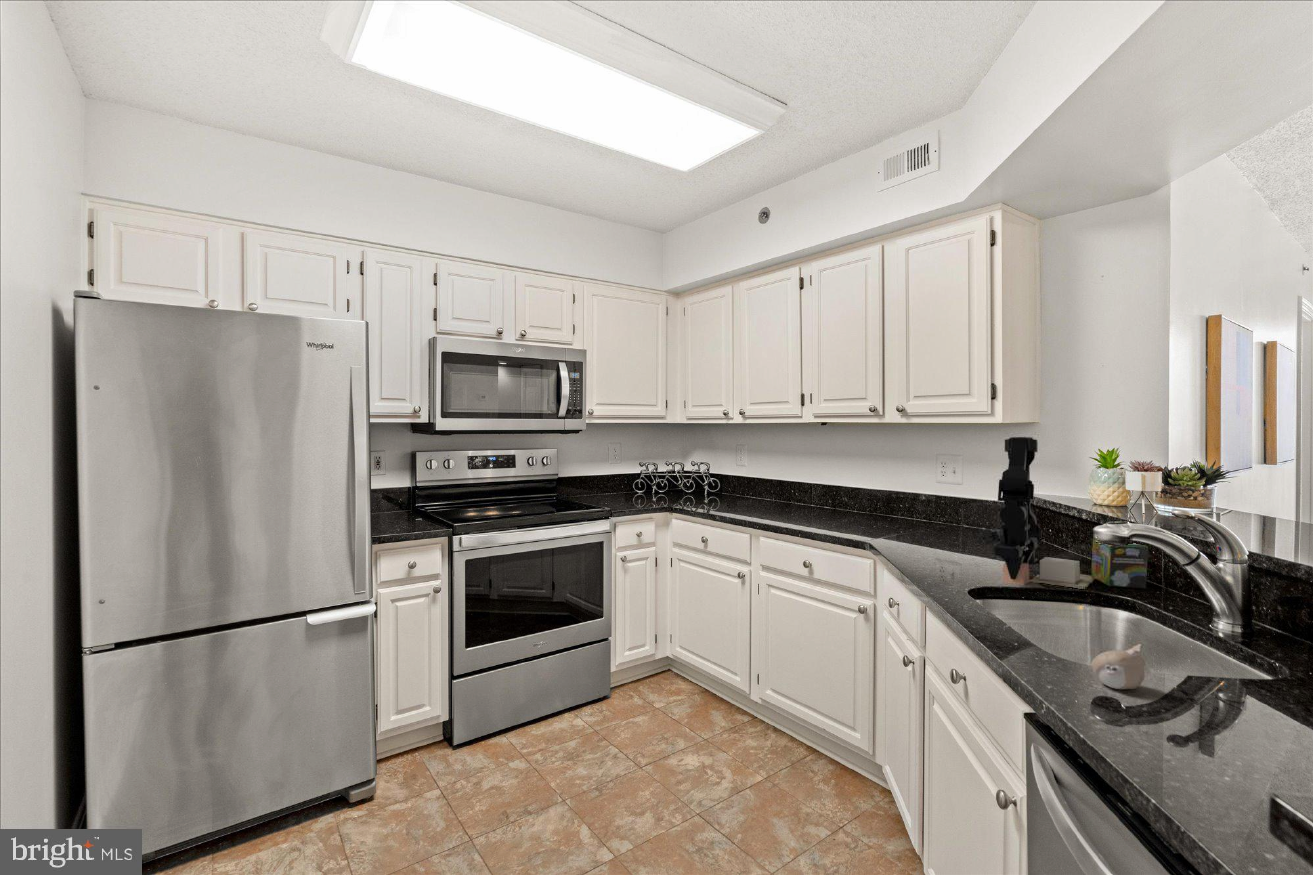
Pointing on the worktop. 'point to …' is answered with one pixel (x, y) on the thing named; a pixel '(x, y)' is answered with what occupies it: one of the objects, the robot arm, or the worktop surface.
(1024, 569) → the pink cube
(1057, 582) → the board
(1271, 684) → the worktop surface
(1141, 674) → the beige toy figurine
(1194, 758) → the worktop surface
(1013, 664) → the worktop surface
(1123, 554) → the chalk box
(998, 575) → the worktop surface
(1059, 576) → the base brick
